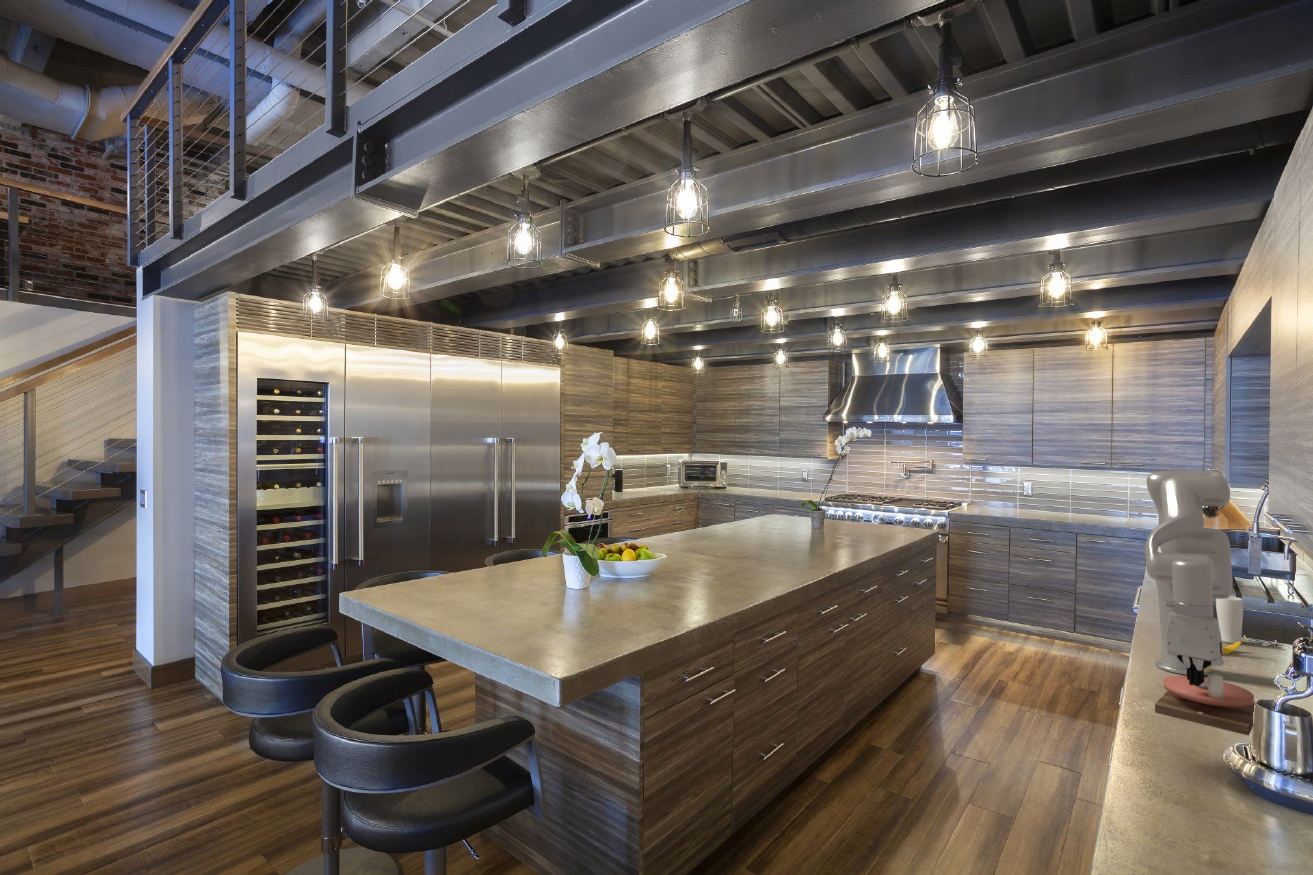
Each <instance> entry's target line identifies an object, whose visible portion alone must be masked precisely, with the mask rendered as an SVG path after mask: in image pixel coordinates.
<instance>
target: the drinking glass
mask: <svg viewBox="0 0 1313 875" xmlns="http://www.w3.org/2000/svg"><path fill="white" fill-rule="evenodd" d="M1215 608H1216V616H1217V617H1216V618H1217V621H1218V624H1219V628H1220V632H1221V638H1222V643H1223V642H1224V643H1226V644H1230V645H1233V644H1235V643H1236V642H1238V641H1239V642H1241V643H1242V632H1243V618H1244V604H1243V598H1241V597H1236V596H1233V595H1230V596H1229V597H1228V598H1225V599H1216V598H1215Z"/></svg>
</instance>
